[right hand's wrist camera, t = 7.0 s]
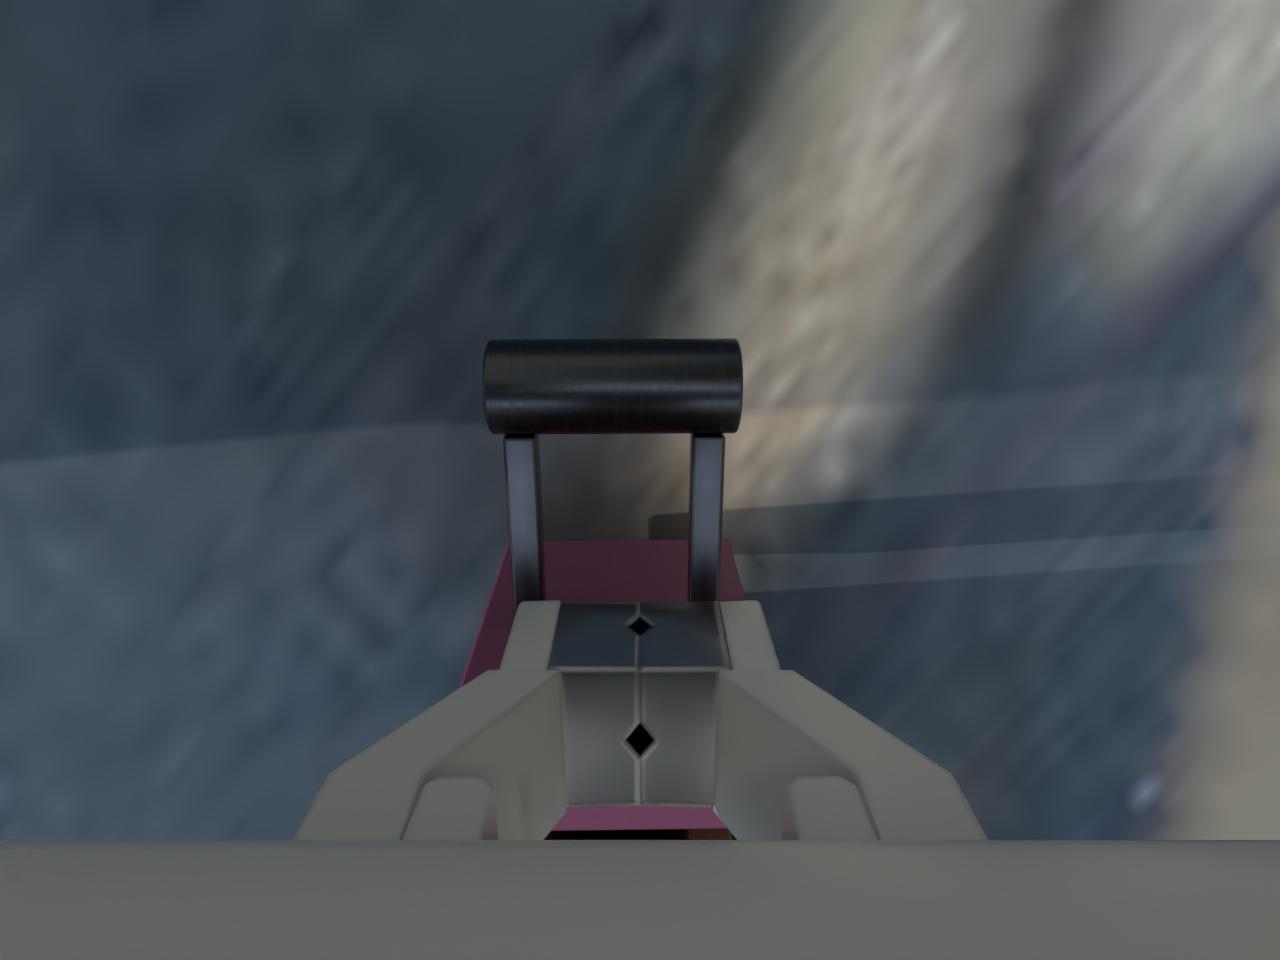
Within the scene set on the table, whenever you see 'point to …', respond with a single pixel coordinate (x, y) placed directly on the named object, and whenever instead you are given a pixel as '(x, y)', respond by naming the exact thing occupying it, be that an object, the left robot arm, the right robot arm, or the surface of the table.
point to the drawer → (611, 569)
